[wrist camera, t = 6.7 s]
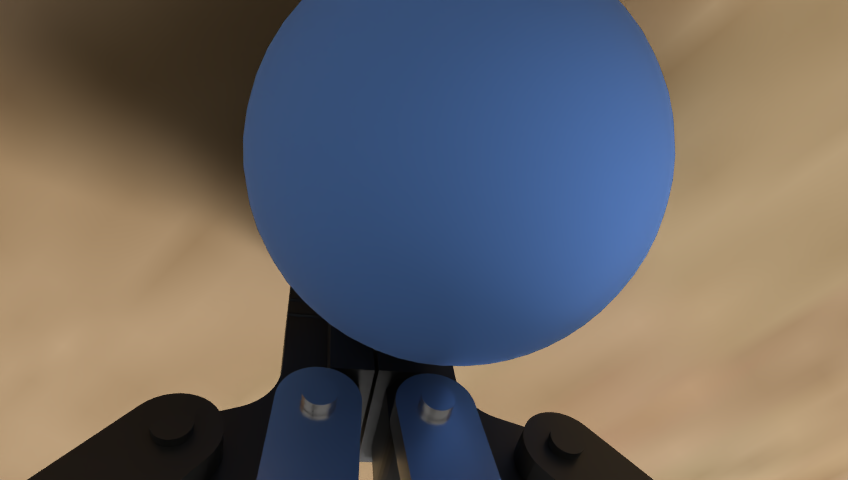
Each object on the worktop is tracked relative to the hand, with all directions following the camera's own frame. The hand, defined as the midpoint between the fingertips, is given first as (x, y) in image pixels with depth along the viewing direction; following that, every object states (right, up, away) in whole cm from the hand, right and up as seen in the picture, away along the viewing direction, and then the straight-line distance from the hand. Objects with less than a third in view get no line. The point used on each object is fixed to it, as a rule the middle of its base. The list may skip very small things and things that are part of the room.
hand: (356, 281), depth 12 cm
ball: (+2, +2, -4) cm, 5 cm away
